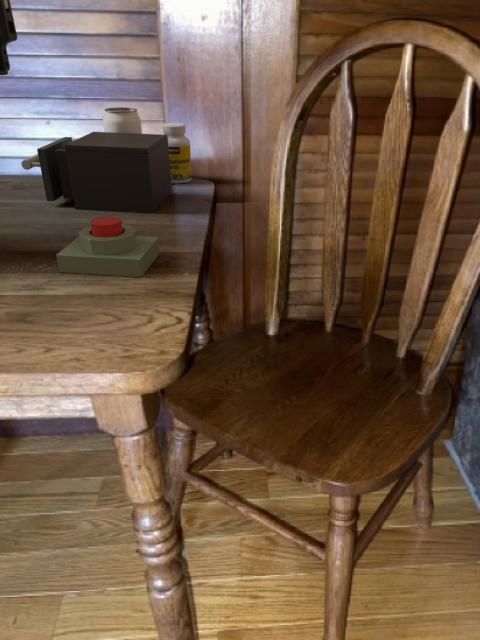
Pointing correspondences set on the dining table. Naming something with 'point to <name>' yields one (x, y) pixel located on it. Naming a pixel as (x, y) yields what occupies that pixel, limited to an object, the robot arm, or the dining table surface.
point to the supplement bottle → (178, 152)
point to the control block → (109, 254)
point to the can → (122, 120)
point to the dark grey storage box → (119, 171)
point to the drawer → (53, 169)
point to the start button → (106, 226)
